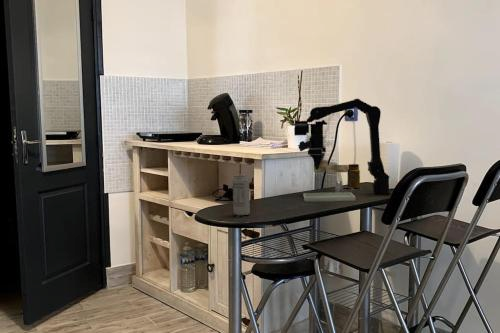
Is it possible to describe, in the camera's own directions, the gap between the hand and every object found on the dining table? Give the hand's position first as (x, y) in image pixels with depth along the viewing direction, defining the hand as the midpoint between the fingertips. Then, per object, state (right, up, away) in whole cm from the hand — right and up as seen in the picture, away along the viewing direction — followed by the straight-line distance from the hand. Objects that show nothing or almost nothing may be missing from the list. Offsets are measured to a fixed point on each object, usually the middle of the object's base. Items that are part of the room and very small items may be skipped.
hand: (317, 169), depth 229 cm
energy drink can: (-34, -17, -44) cm, 58 cm away
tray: (+3, -13, -12) cm, 18 cm away
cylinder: (+10, -12, +2) cm, 16 cm away
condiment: (+20, -10, +21) cm, 31 cm away
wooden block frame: (+6, -1, -1) cm, 6 cm away
